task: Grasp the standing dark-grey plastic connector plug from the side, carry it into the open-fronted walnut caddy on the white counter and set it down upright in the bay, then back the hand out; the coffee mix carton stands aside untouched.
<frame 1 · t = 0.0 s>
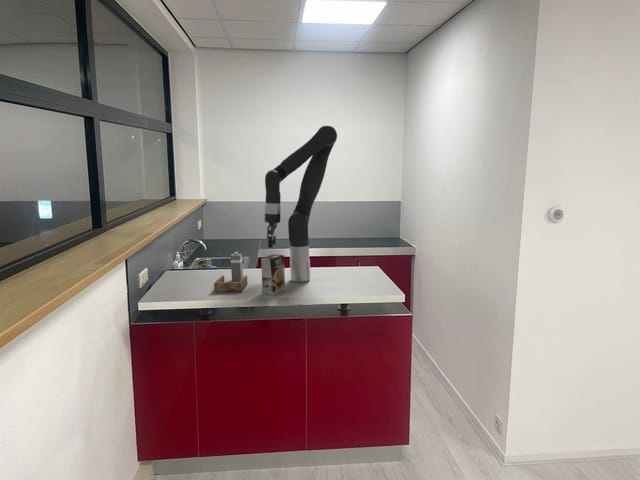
hand: (271, 245, 215), 17 cm above the table, tool pointing down, fingers open, 8 cm apart
caddy: (231, 288, 205), on the table
connector plug: (237, 280, 219), on the table
coffee box: (274, 291, 199), on the table
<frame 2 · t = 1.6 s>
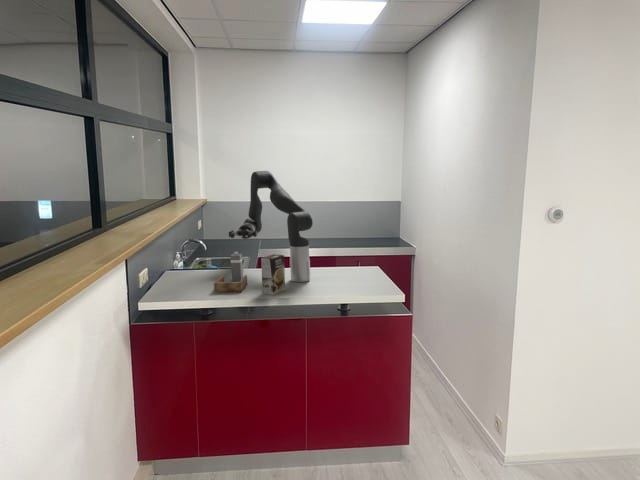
hand: (240, 236, 226), 20 cm above the table, tool horizontal, fingers open, 8 cm apart
nothing on the table moved.
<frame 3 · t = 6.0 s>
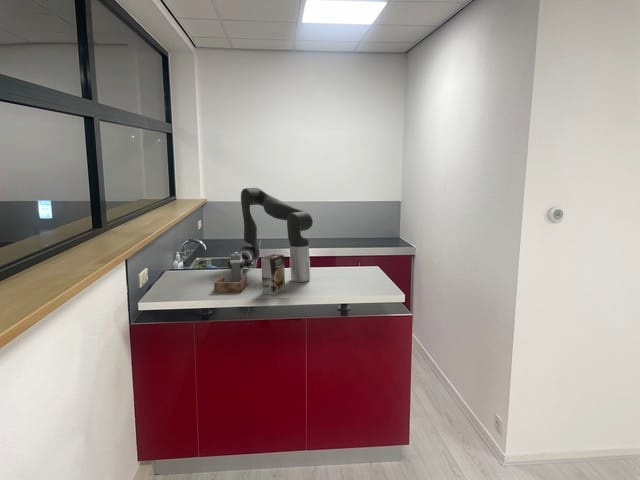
hand: (235, 266, 215), 8 cm above the table, tool horizontal, fingers closed on connector plug, 4 cm apart
connector plug: (237, 280, 219), on the table, touching gripper
everything else where it was.
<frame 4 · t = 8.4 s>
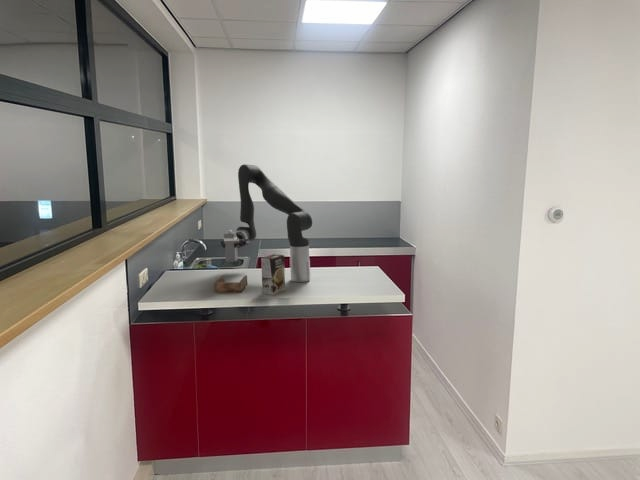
hand: (229, 245, 203), 20 cm above the table, tool horizontal, fingers closed on connector plug, 4 cm apart
connector plug: (231, 260, 207), point 12 cm above the table, touching gripper
everything else where it was.
when the fingers open (10 cm above the table, at t = 11.1 s): connector plug stays where it is, resting on caddy.
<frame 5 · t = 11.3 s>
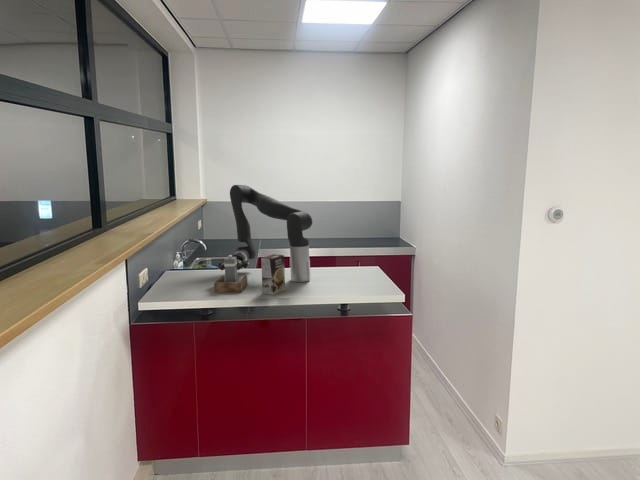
hand: (229, 268, 202), 10 cm above the table, tool horizontal, fingers open, 7 cm apart
connector plug: (232, 285, 206), point 1 cm above the table, touching caddy
everything else where it was.
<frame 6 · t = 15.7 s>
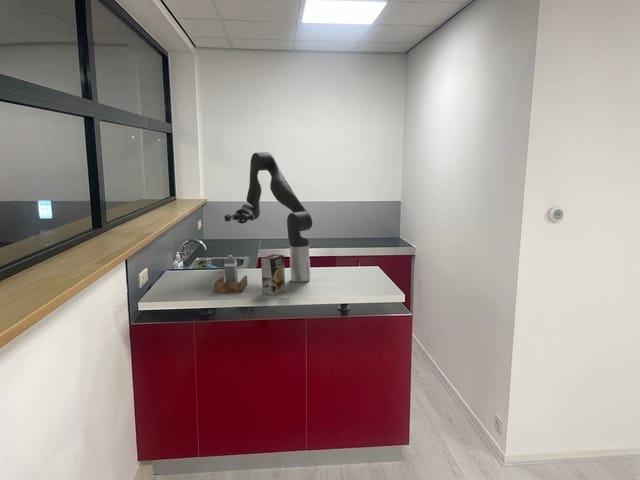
hand: (236, 219, 216), 30 cm above the table, tool horizontal, fingers open, 8 cm apart
nothing on the table moved.
at the end: connector plug inside the target area on the caddy (0.9 cm from its centre), point 1.2 cm above the caddy's base; connector plug tilted 0°; connector plug touching caddy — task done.
